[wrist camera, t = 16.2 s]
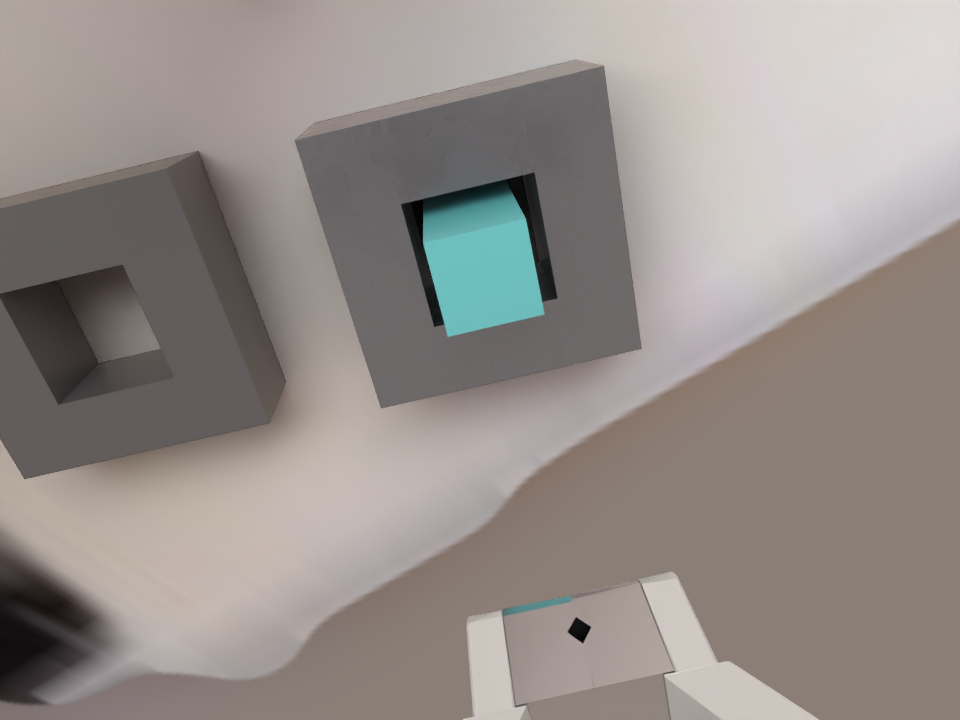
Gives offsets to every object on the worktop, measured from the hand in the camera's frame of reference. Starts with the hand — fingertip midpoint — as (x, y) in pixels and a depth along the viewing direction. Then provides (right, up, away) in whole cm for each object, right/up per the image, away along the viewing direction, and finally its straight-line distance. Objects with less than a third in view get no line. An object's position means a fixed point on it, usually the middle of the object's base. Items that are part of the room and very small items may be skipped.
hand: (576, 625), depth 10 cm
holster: (-17, +6, +22) cm, 29 cm away
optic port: (-2, +10, +21) cm, 24 cm away
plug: (-2, +10, +21) cm, 24 cm away
